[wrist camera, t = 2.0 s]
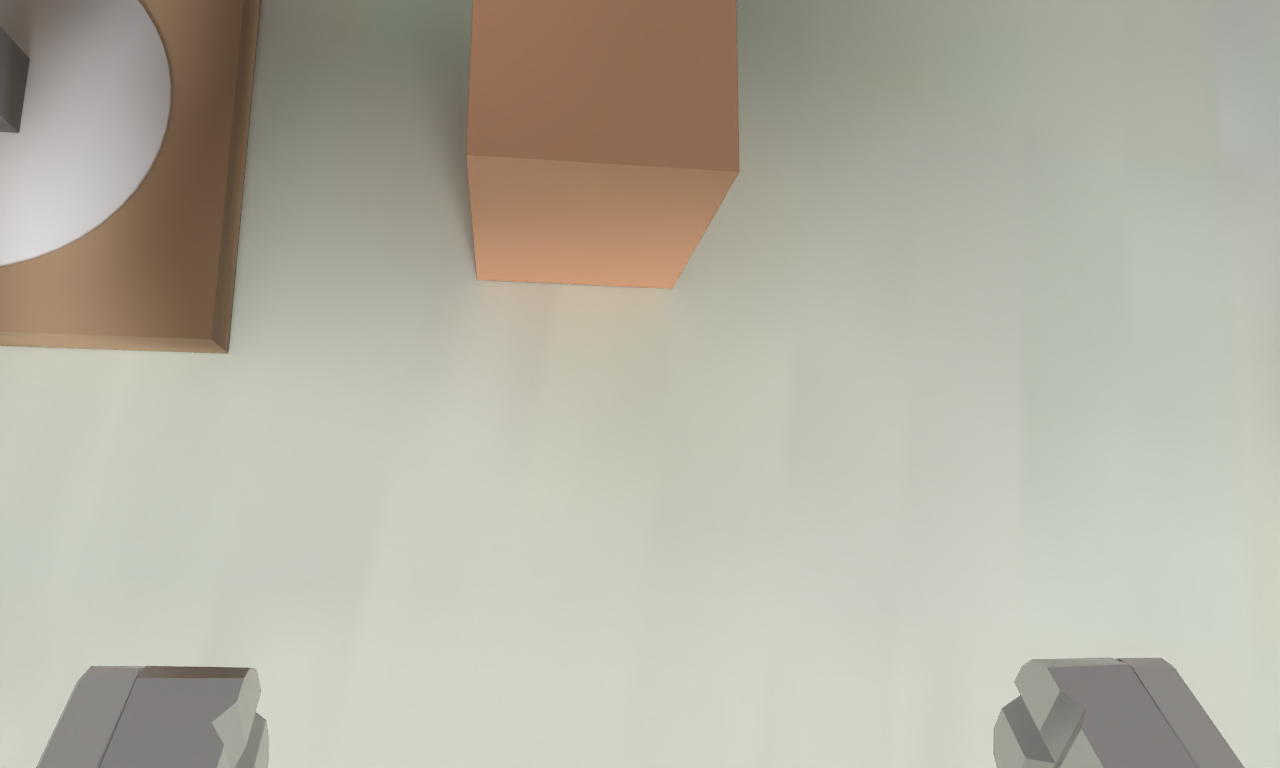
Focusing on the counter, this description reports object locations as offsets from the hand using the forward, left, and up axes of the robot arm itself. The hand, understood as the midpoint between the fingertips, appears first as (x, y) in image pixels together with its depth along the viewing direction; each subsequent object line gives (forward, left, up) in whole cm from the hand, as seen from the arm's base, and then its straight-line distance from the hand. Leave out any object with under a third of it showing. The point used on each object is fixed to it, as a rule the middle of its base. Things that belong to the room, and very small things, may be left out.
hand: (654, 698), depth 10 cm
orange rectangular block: (0, -12, -15) cm, 19 cm away
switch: (+15, -13, -15) cm, 25 cm away
